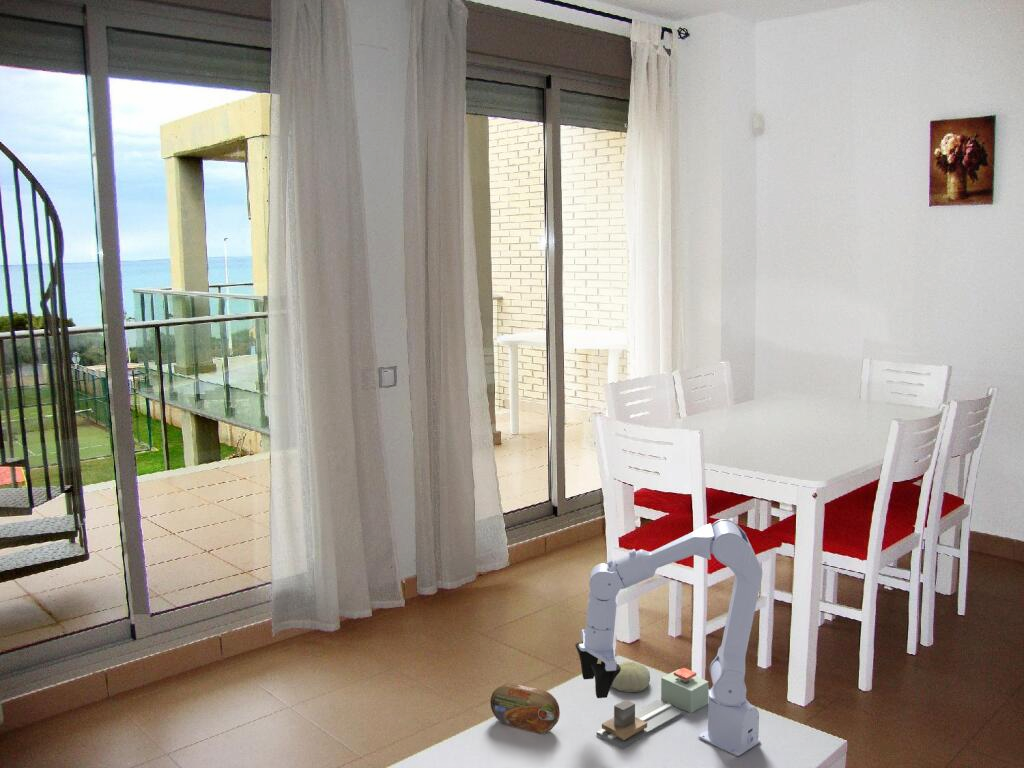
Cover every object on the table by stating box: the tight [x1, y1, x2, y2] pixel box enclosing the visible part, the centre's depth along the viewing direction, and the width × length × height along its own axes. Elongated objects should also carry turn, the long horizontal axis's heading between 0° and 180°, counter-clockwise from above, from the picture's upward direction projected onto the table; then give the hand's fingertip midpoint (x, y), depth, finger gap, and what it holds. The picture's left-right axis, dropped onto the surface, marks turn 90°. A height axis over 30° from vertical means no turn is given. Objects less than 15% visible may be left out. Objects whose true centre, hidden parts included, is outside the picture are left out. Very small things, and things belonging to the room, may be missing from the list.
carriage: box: [601, 699, 647, 740], centre depth 183 cm, size 6×7×5 cm
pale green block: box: [660, 668, 710, 714], centre depth 196 cm, size 8×6×5 cm
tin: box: [490, 682, 561, 734], centre depth 187 cm, size 15×3×8 cm, turn 62°
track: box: [596, 699, 684, 750], centre depth 187 cm, size 7×19×1 cm, turn 132°
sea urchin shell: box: [611, 661, 651, 693], centre depth 204 cm, size 9×8×8 cm
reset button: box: [673, 667, 697, 684], centre depth 196 cm, size 3×3×2 cm
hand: (594, 687), depth 184 cm, fingers open, 7 cm apart
